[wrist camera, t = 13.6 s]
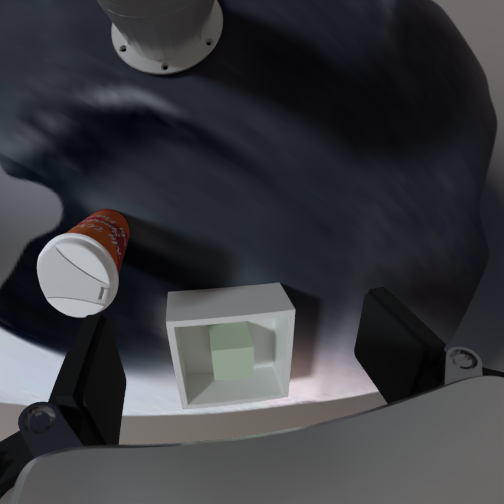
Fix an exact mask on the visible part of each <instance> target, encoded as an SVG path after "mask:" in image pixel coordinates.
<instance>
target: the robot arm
mask: <svg viewBox="0 0 504 504" xmlns="http://www.w3.org/2000/svg"><path fill="white" fill-rule="evenodd" d="M97 1H98V3H99V4H100V5H101V7H102V8H103V10H104V11H105V12H106V14H107V15H108V16H109V18H110V19H111V21H112V22H113V23H112V28H111V36H112V42H113V45H114V48H115V50H116V52H117V53H118V55H119V56H120V57H121V59H122V60H123V61H124V62H126V63H127V64H128V65H129V66H131V67H132V68H134V69H136V70H138V71H141V72H144V73H147V74H154V75H169V74H174V73H179V72H182V71H184V70H187V69H190V68H191V67H193V66H195V65H197V64H198V63H200V62H201V61H202V60H203V59H205V58H206V57H207V56H208V55H209V54H210V53H211V51H212V50H213V49H214V47H215V46H216V44H217V42H218V41H219V38H220V35H221V32H222V28H223V14H222V10H221V7H220V5H219V3H218V1H217V0H97ZM208 42H209V43H211V45H209V46H208V45H207V44H206V43H208ZM123 49H126V51H125V52H122V51H123ZM165 66H167V67H168V69H167V70H164V69H163V68H164V67H165ZM445 345H446V344H445V343H444V342H443V341H442V340H441V339H440V338H439V337H438V336H437V335H436V334H435V333H434V332H433V331H432V330H430V329H429V328H428V327H427V326H426V325H425V324H424V323H423V322H422V321H421V320H420V319H419V318H418V317H417V316H416V315H414V314H413V313H412V312H411V311H410V310H409V309H408V308H407V307H406V306H405V305H404V304H402V303H401V302H400V301H399V300H398V299H397V298H396V297H395V296H394V295H392V294H391V293H390V292H389V291H388V290H387V289H386V288H384V287H381V288H375V289H370V290H369V292H368V293H367V294H366V295H365V297H364V302H363V308H362V313H361V319H360V324H359V329H358V334H357V339H356V344H355V349H354V353H355V357H356V359H357V360H358V361H359V363H360V364H361V366H362V367H363V369H364V370H365V371H366V373H367V374H368V376H369V377H370V379H371V380H372V382H373V383H374V384H375V386H376V387H377V389H378V390H379V392H380V393H381V395H382V396H383V398H384V399H385V400H386V402H387V403H388V404H387V405H383V406H380V407H376V408H373V409H370V410H366V411H363V412H359V413H355V414H352V415H348V416H344V417H340V418H336V419H332V420H328V421H324V422H319V423H315V424H310V425H306V426H301V427H296V428H291V429H286V430H281V431H275V432H269V433H262V434H256V435H249V436H242V437H234V438H226V439H217V440H207V441H196V442H182V443H163V444H137V445H136V444H134V445H119V435H120V427H121V419H122V411H123V404H124V397H125V390H126V376H125V373H124V370H123V366H122V363H121V360H120V356H119V353H118V349H117V346H116V342H115V339H114V335H113V331H112V328H111V324H110V320H109V319H108V318H104V316H103V315H102V314H95V315H87V316H86V318H85V320H84V322H83V325H82V327H81V329H80V332H79V334H78V336H77V339H76V341H75V343H74V346H73V348H72V351H70V352H68V353H67V355H66V357H65V359H64V361H63V364H62V366H61V369H60V372H59V374H58V377H57V379H56V382H55V385H54V387H53V390H52V393H51V395H50V398H49V401H48V402H36V403H34V404H31V405H29V406H28V407H26V408H25V409H24V410H23V411H22V413H21V415H20V416H19V421H18V425H19V429H20V431H18V432H16V433H15V434H13V435H11V436H9V437H8V438H6V439H4V440H3V441H1V442H0V504H504V372H500V371H495V370H491V369H487V368H483V367H482V364H481V360H480V358H479V356H478V355H477V354H476V353H475V352H474V351H472V350H470V349H467V348H464V347H454V348H451V349H449V350H448V351H447V353H446V352H445V351H444V348H445Z"/></svg>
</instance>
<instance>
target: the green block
mask: <svg viewBox="0 0 504 504" xmlns="http://www.w3.org/2000/svg"><path fill="white" fill-rule="evenodd" d="M208 326H209V339H210V350H211V358H212V365H213V372H214V379H215V381H217V380H228V379H237V378H246V377H254V346H253V342H252V339H251V336H250V333H249V330H248V327H247V324H246V321H242V322H232V323H221V324H210V325H208Z"/></svg>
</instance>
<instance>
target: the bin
mask: <svg viewBox="0 0 504 504" xmlns="http://www.w3.org/2000/svg"><path fill="white" fill-rule="evenodd" d="M242 321H246V324H247V327H248V330H249V333H250V336H251V339H252V342H253V346H254V377H246V378H237V379H228V380H217V381H215V379H214V372H213V365H212V358H211V350H210V339H209V326H208V325H210V324H221V323H232V322H242ZM294 322H295V308H294V306H293V305H292V303H291V301H290V300H289V298H288V296H287V294H286V293H285V291H284V289H283V288H282V286H281V284H280V283H271V284H260V285H249V286H238V287H226V288H214V289H202V290H189V291H175V292H168V301H167V314H166V326H167V332H168V337H169V343H170V349H171V354H172V359H173V365H174V370H175V375H176V380H177V385H178V389H179V394H180V399H181V403H182V408H183V409H193V408H205V407H216V406H225V405H234V404H242V403H250V402H257V401H264V400H271V399H277V398H283V397H288V392H289V381H290V370H291V359H292V347H293V335H294Z"/></svg>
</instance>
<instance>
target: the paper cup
mask: <svg viewBox="0 0 504 504" xmlns="http://www.w3.org/2000/svg"><path fill="white" fill-rule="evenodd" d="M128 240H129V226H128V223H127V221H126V219H125V218H124V217H123V216H122V215H121V214H120V213H119V212H117V211H115V210H111V209H103V210H100V211H97V212H95V213H94V214H92V215H91V216H89V217H88V218H86V219H85V220H83V221H82V222H81V223H79V224H78V225H76V226H75V227H74V228H72V229H71V230H70V231H68V232H67V233H66V234H62V235H59V236H57V237H55V238H53V239H52V240H51V241H50V242H49V243H48V244H47V245H46V246H45V247H44V249H43V250H42V252H41V253H40V254H39V257H38V263H37V273H38V278H39V282H40V286H41V288H42V291H43V293H44V295H45V297H46V299H47V300H48V301H49V303H50V304H51V305H52V306H53V307H55V308H56V309H57V310H59V311H60V312H62V313H64V314H66V315H69V316H73V317H86V316H87V315H94V314H96V313H98V312H100V311H102V310H104V309H105V308H106V307H108V306H109V304H110V303H111V302H112V301H113V299H114V297H115V295H116V293H117V289H118V274H119V271H120V267H121V264H122V260H123V257H124V254H125V250H126V247H127V244H128Z"/></svg>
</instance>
